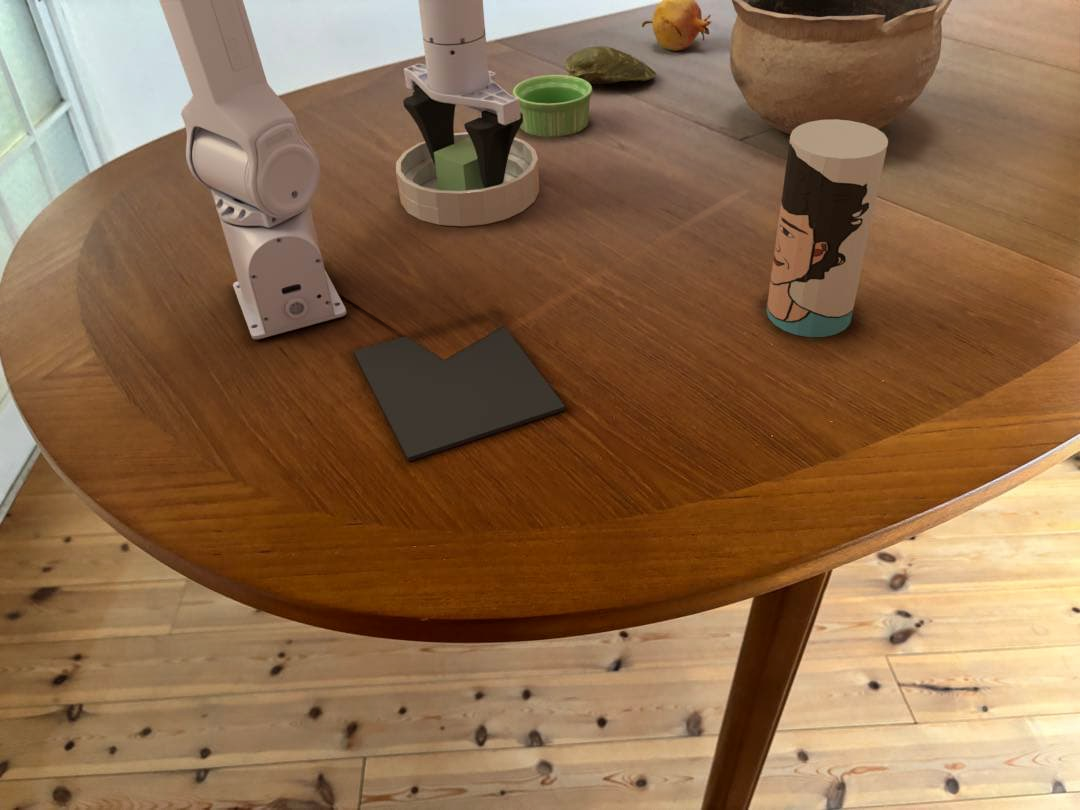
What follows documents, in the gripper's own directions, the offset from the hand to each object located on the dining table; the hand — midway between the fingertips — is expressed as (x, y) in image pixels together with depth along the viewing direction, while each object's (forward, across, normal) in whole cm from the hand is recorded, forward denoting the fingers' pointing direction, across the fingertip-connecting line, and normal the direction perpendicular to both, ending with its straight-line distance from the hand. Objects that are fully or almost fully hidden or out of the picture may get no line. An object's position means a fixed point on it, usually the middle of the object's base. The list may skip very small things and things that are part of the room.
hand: (468, 173), depth 92 cm
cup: (+3, -37, -5) cm, 37 cm away
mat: (+2, -22, +21) cm, 31 cm away
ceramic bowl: (+3, -17, -37) cm, 41 cm away
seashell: (+3, +10, -32) cm, 34 cm away
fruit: (+3, +12, -48) cm, 50 cm away
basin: (+2, 0, 0) cm, 3 cm away
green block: (+2, 0, 0) cm, 2 cm away
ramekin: (+3, +6, -18) cm, 19 cm away
